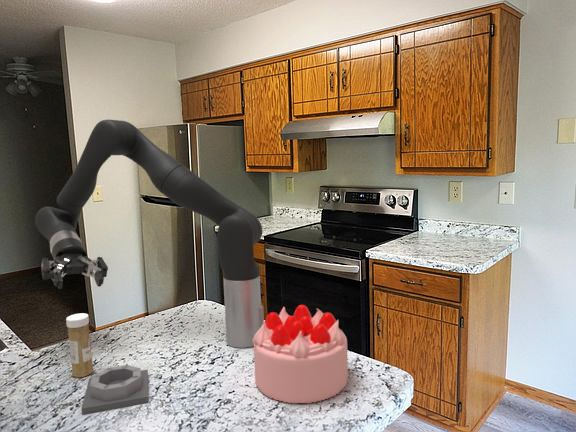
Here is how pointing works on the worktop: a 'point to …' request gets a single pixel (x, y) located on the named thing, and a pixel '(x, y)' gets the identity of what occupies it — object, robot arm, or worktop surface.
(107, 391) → the barrel socket
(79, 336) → the sprinkles bottle
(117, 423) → the worktop surface
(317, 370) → the cake
